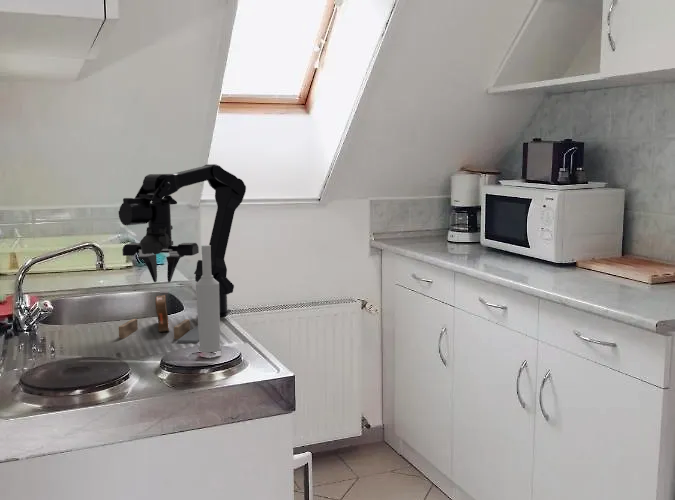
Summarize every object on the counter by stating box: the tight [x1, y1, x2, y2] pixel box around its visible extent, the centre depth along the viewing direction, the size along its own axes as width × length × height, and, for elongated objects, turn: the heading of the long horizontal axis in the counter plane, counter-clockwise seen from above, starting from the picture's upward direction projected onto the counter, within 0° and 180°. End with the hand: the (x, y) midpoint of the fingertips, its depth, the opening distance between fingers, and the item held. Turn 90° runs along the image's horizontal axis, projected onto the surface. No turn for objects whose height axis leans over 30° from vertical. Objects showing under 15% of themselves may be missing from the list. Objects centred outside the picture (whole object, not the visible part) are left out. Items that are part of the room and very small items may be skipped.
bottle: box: [195, 244, 222, 352], centre depth 156 cm, size 5×5×25 cm
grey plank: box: [176, 324, 199, 344], centre depth 177 cm, size 16×5×1 cm, turn 174°
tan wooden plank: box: [118, 318, 191, 340], centre depth 178 cm, size 9×15×3 cm, turn 84°
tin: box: [154, 294, 170, 333], centre depth 184 cm, size 15×3×8 cm, turn 14°
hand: (162, 281), depth 183 cm, fingers open, 3 cm apart
